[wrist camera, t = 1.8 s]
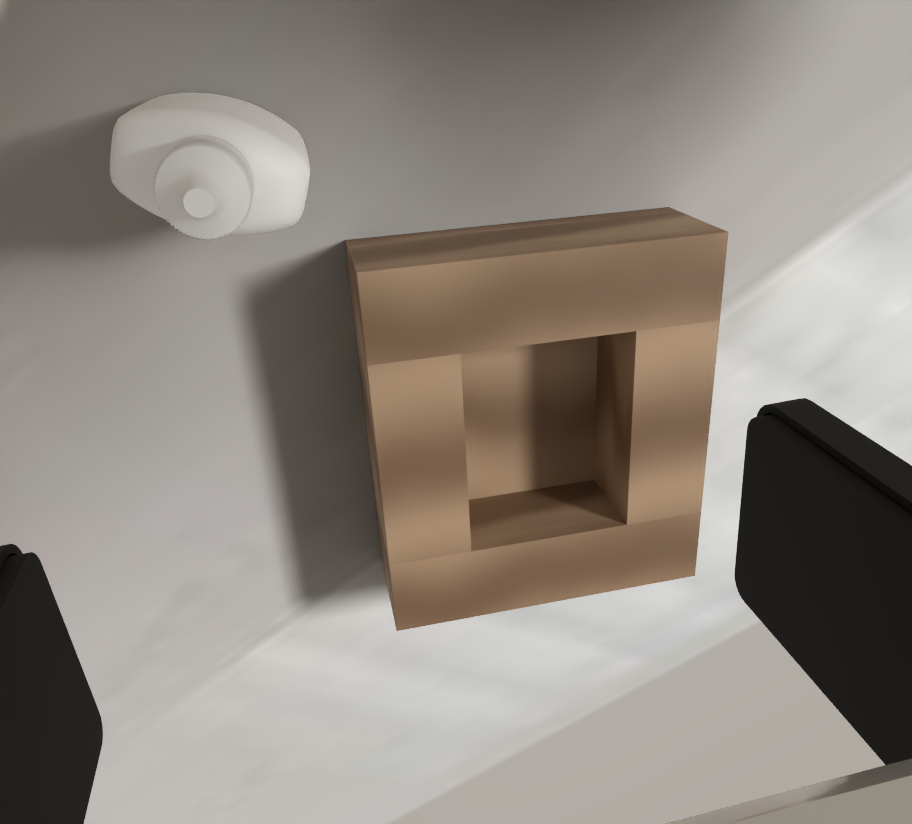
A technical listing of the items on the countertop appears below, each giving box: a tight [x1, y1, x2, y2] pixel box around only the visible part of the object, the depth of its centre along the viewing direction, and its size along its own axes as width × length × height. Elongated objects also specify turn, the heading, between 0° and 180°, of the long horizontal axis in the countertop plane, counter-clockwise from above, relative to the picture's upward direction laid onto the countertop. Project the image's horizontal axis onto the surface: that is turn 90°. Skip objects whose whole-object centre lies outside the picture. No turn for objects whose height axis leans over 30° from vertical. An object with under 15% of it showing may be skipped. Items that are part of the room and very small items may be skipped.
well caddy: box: [345, 207, 728, 631], centre depth 34 cm, size 16×14×5 cm
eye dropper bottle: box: [110, 93, 310, 240], centre depth 24 cm, size 4×6×12 cm
